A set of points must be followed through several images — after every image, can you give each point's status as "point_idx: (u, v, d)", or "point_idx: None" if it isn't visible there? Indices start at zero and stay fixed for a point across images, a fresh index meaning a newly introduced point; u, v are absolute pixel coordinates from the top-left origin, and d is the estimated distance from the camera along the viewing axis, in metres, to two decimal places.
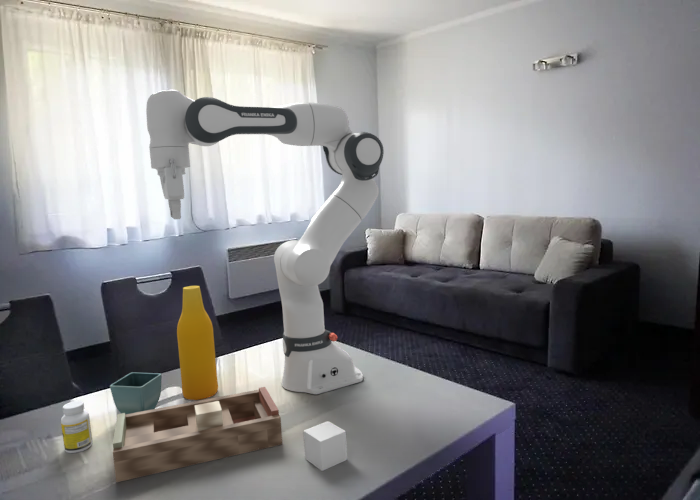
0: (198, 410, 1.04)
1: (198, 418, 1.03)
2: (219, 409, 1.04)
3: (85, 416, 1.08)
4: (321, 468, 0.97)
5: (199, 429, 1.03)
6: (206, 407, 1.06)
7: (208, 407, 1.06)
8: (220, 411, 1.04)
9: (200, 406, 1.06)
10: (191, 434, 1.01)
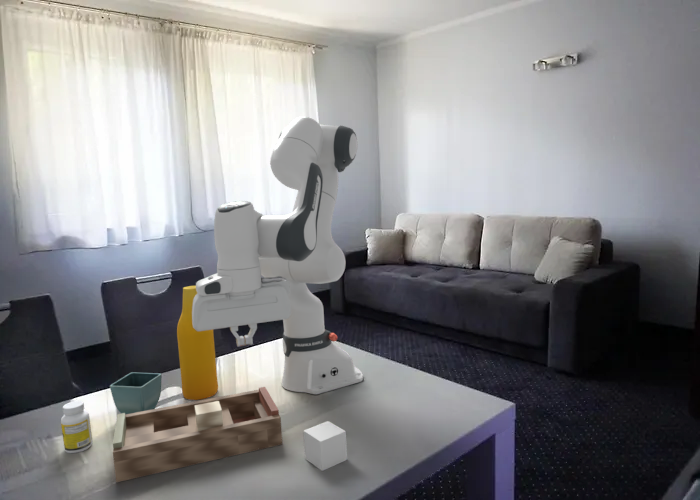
0: (198, 410, 1.04)
1: (198, 418, 1.03)
2: (219, 409, 1.04)
3: (85, 416, 1.08)
4: (321, 468, 0.97)
5: (199, 429, 1.03)
6: (206, 407, 1.06)
7: (208, 407, 1.06)
8: (220, 411, 1.04)
9: (200, 406, 1.06)
10: (191, 434, 1.01)
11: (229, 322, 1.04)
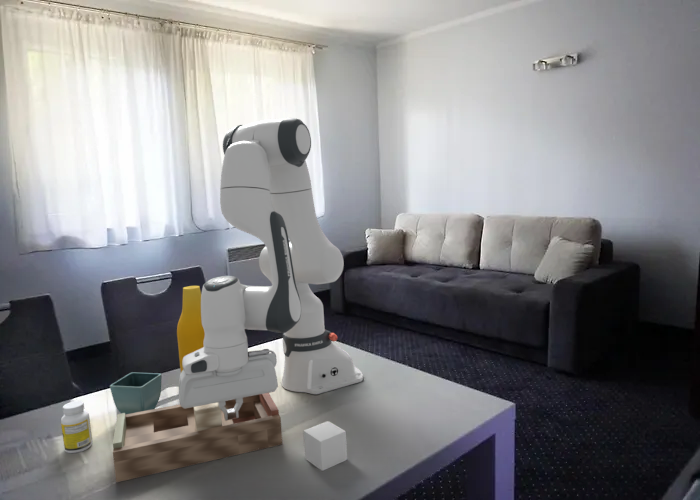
0: (197, 410, 1.04)
1: (197, 418, 1.03)
2: (218, 409, 1.04)
3: (85, 416, 1.08)
4: (321, 468, 0.97)
5: (198, 429, 1.03)
6: (205, 407, 1.06)
7: (207, 407, 1.05)
8: (219, 411, 1.04)
9: (199, 406, 1.06)
10: (191, 434, 1.01)
11: (216, 398, 1.04)
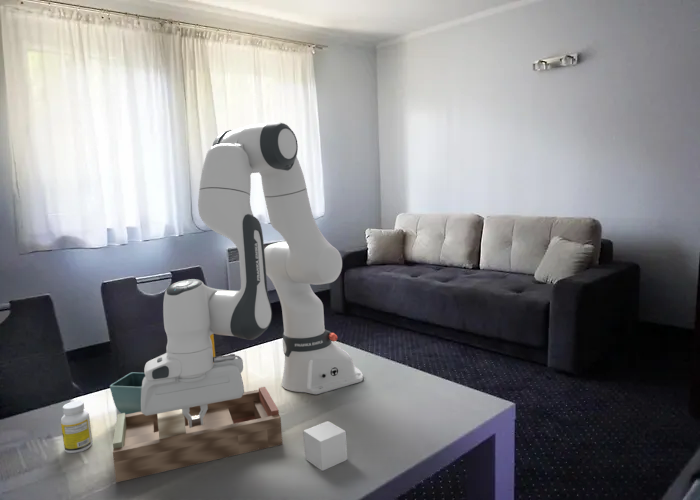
0: (160, 418, 1.02)
1: (160, 426, 1.00)
2: (182, 416, 1.02)
3: (85, 416, 1.08)
4: (321, 468, 0.97)
5: (161, 437, 1.00)
6: (169, 414, 1.03)
7: (171, 415, 1.03)
8: (183, 419, 1.01)
9: (163, 413, 1.04)
10: (191, 434, 1.01)
11: (179, 405, 1.01)
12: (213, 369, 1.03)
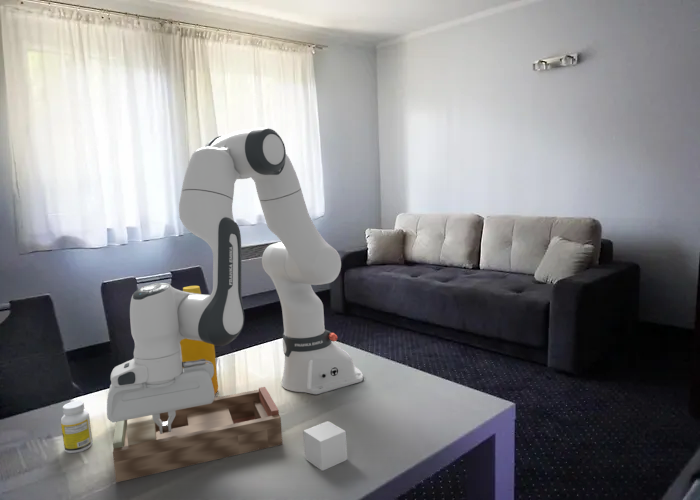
0: (129, 424, 1.00)
1: (128, 432, 0.98)
2: (151, 422, 1.00)
3: (85, 416, 1.08)
4: (321, 468, 0.97)
5: (130, 444, 0.98)
6: (139, 420, 1.01)
7: (141, 420, 1.01)
8: (152, 425, 0.99)
9: (133, 419, 1.02)
10: (191, 434, 1.01)
11: (146, 411, 0.99)
12: (182, 374, 1.01)
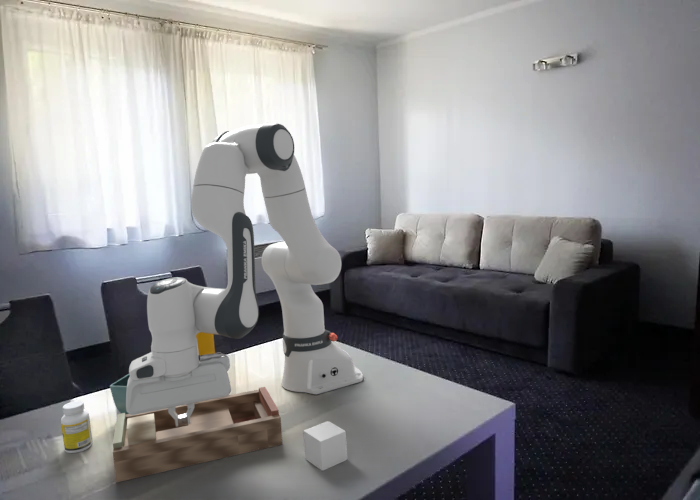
0: (129, 423, 1.00)
1: (128, 432, 0.98)
2: (152, 422, 1.00)
3: (85, 416, 1.08)
4: (321, 468, 0.97)
5: (130, 444, 0.98)
6: (139, 420, 1.01)
7: (141, 420, 1.01)
8: (152, 425, 0.99)
9: (133, 419, 1.02)
10: (191, 434, 1.01)
11: (164, 404, 1.01)
12: (199, 368, 1.03)
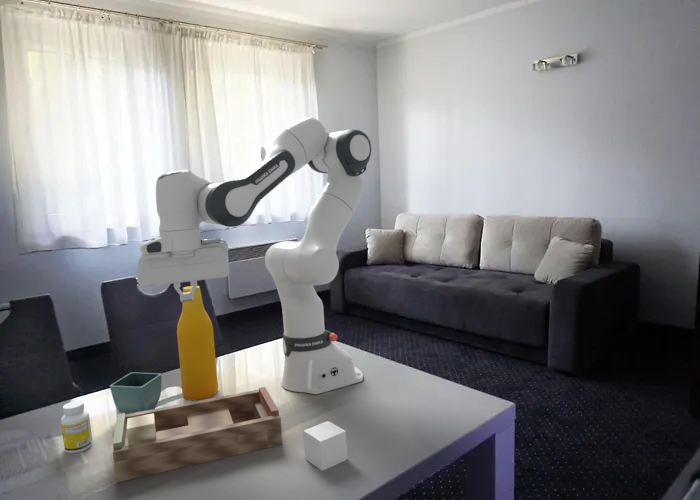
0: (129, 423, 1.00)
1: (128, 432, 0.98)
2: (152, 422, 1.00)
3: (85, 416, 1.08)
4: (321, 468, 0.97)
5: (130, 444, 0.98)
6: (139, 420, 1.01)
7: (141, 420, 1.01)
8: (152, 425, 0.99)
9: (133, 419, 1.02)
10: (191, 434, 1.01)
11: (171, 279, 1.15)
12: (201, 249, 1.17)
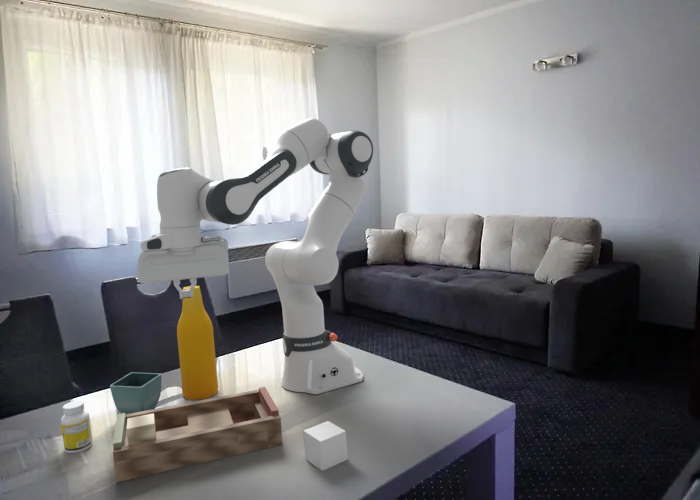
0: (129, 423, 1.00)
1: (128, 432, 0.98)
2: (152, 422, 1.00)
3: (85, 416, 1.08)
4: (321, 468, 0.97)
5: (130, 444, 0.98)
6: (139, 420, 1.01)
7: (141, 420, 1.01)
8: (152, 425, 0.99)
9: (133, 419, 1.02)
10: (191, 434, 1.01)
11: (171, 276, 1.15)
12: (201, 246, 1.17)
